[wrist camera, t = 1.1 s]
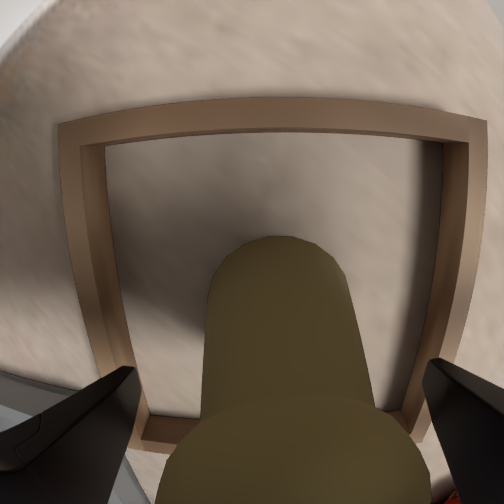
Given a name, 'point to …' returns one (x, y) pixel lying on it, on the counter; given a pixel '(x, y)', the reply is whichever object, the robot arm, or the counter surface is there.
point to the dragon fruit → (453, 498)
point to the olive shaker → (289, 394)
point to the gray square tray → (41, 398)
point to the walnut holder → (258, 121)
